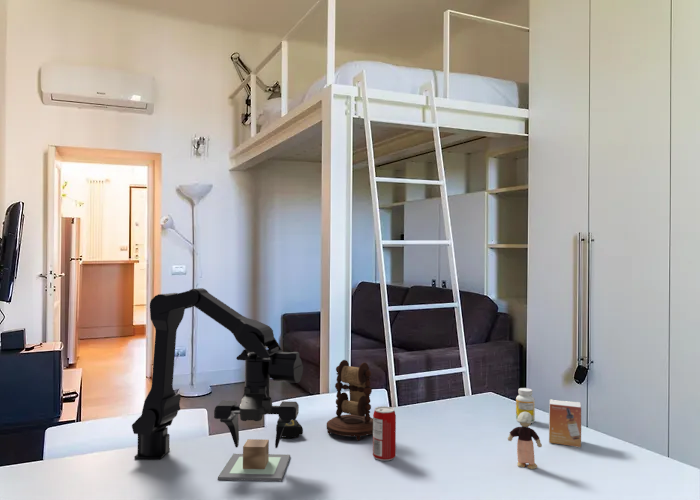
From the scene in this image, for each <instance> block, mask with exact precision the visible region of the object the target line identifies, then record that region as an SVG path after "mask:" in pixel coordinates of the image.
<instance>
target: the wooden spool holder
mask: <svg viewBox="0 0 700 500" xmlns="http://www.w3.org/2000/svg"><path fill="white" fill-rule="evenodd" d="M335 371H336V375H337V377H336V383H335V384H334V387H335V390H336V391H337V393H336V398H337V399H335V404H336V411H335V414H336V416H335V417H332V418H331V419H329V420H327V422H326V430H327V434H328V433H329V434H328V435H331V434H334V435H338V436H342V437H355V439H356V441H357V442H360V440H361V437H363V436H369V435H373V417H371V415H370V413H371V411H370V410H371V409H372V405H371V404H370V403H371V397H370V396H371V394H372V392H373V391H372V390H373V389H372V387H371V385H372V384H371V380H370V379H371V376H372V371H371V370H370V367H369V365H368V363H367V362H365V361H364V362H362V363H361V364H360V365H359V367H358V366H351V365H350V364H349V362H348V360H347V359H343V360H341V361H340V363H339V364H338V366H336V368H335ZM345 383H346V384H345ZM342 390H348V391H349V395H348V393H347V392H344V391H343V392H341V391H342ZM343 413H344V414H343ZM330 433H331V434H330Z"/></svg>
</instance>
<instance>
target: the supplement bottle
mask: <svg viewBox="0 0 700 500" xmlns="http://www.w3.org/2000/svg"><path fill="white" fill-rule="evenodd" d="M517 392H518V395H517V396H516V398H515V420H516V421H517V418H518V416H519V414H520V413H522V412H529V413H530V414H531V417H532V420H531V423H532V424H534V423H535V422H536V421H535V420H536V418H535V417H536V416H535V415H536V413H535V411H536V409H535V408H536V407H535V405H536V404H535V402H536V401H535V397H534V396H533V389H531V388H528V387H520V388H518V391H517Z"/></svg>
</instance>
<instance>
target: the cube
mask: <svg viewBox="0 0 700 500" xmlns="http://www.w3.org/2000/svg"><path fill="white" fill-rule="evenodd" d="M269 447H270V443H269V439H262V438H261V439H257V438H256V439H253V438H252V439H251V438H250V439H247V440H246V441H245V443H244V444H243V446H242V454H243V469H265V467H266V465H267V463H268V461H269V454H270V451H269Z"/></svg>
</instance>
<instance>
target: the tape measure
mask: <svg viewBox="0 0 700 500" xmlns="http://www.w3.org/2000/svg"><path fill="white" fill-rule="evenodd" d="M275 431H276V432H277V424H276V428H275ZM303 433H304V428H303V426H302V425H301V424H300V422H299V421H298V420H297V419H295V420H291V422H290V423H286V424H285V426H284V429H283V432H282V435H281V437H282V438H294V437H298V436H301V435H303Z"/></svg>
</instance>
